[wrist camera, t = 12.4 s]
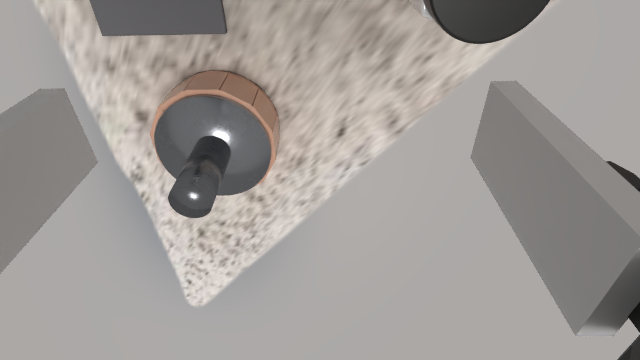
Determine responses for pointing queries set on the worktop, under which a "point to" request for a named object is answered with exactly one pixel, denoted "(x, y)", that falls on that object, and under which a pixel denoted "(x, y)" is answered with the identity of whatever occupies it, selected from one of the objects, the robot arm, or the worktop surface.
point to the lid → (210, 150)
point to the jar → (480, 17)
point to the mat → (159, 17)
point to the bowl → (232, 89)
